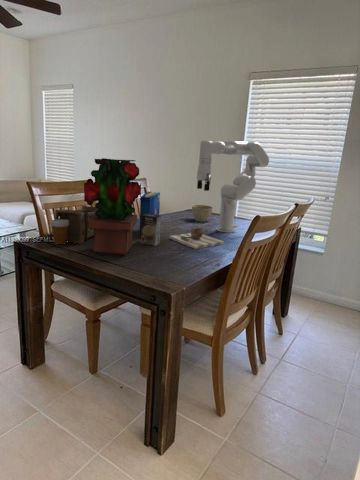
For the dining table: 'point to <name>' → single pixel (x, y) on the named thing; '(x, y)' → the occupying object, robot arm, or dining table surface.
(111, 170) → the potted plant
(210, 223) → the dining table surface
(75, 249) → the dining table surface
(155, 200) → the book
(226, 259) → the dining table surface
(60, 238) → the disposable coffee cup
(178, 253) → the dining table surface
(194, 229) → the dial pointer knob
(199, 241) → the dial plate
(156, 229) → the coffee box
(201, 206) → the planter bowl
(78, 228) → the ornamental box
